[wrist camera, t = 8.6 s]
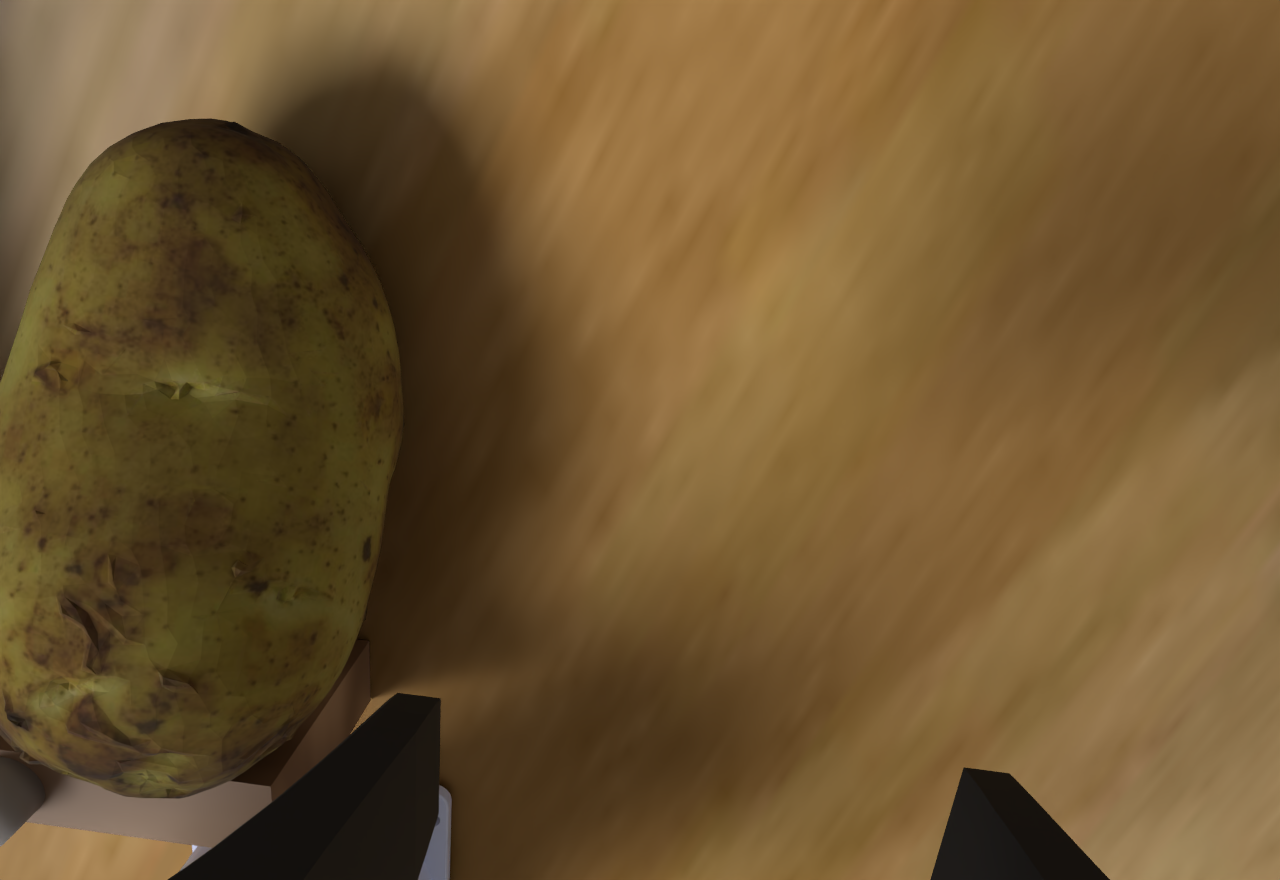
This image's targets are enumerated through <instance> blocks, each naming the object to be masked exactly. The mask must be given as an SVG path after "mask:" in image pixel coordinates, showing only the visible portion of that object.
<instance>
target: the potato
mask: <svg viewBox="0 0 1280 880" xmlns="http://www.w3.org/2000/svg"><path fill="white" fill-rule="evenodd" d="M403 428H404V409H403V394H402V380H401V367H400V357H399V350H398V345H397V341H396V333H395V327H394V324H393V320H392V316H391V312H390V309H389V306H388V303H387V300H386V297H385V294H384V292H383V289H382V286H381V284H380V282H379V279H378V277H377V275H376V272H375V270H374V267H373V266H372V264H371V262H370V260H369V258H368V257H367V255H366V253H365V251H364V250H363V248H362V246H361V244H360V243H359V241H358V240H357V238H356V237H355V235H354V234H353V232H352V231H351V229H350V228H349V226H348V224H347V223H346V221H345V220H344V218H343V216H342V215H341V213H340V212H339V210H338V208H337V207H336V205H335V203H334V202H333V200H332V198H331V197H330V195H329V194H328V193H327V191H326V190H325V188H324V187H323V186H322V184H321V183H320V181H319V180H318V179H317V177H316V176H315V175H314V174H313V173H312V171H311V170H310V169H309V168H308V166H307V165H306V164H305V163H304V162H303V161H302V160H301V159H299V158H298V157H297V156H296V155H295V154H293V153H292V152H291V151H290V150H288V149H287V148H285V147H284V146H282V145H281V144H279V143H278V142H276V141H274V140H271V139H269V138H266V137H264V136H262V135H259V134H257V133H255V132H252V131H250V130H248V129H247V128H245V127H243V126H241V125H240V124H238V123H236V122H228V121H224V120H217V119H188V120H180V121H173V122H166V123H160V124H158V125H155V126H152V127H149V128H146V129H143V130H140V131H138V132H135V133H133V134H131V135H129V136H127V137H126V138H124V139H122V140H120V141H119V142H117V143H115V144H113V145H112V146H110V147H108V148H107V149H106V150H105V151H104V152H103V153H102V154H101V155H100V156H98V157H97V158H96V159H95V160H94V161H93V162H92V163H91V164H90V165H89V167H88V168H87V169H86V171H85V172H84V173H83V175H82V176H81V178H80V179H79V180H78V182H77V183H76V185H75V186H74V188H73V190H72V191H71V193H70V195H69V197H68V198H67V200H66V203H65V205H64V207H63V209H62V212H61V214H60V216H59V219H58V221H57V223H56V225H55V228H54V230H53V233H52V235H51V238H50V241H49V243H48V246H47V248H46V251H45V254H44V256H43V259H42V261H41V264H40V266H39V269H38V271H37V274H36V277H35V279H34V282H33V284H32V287H31V289H30V292H29V296H28V299H27V302H26V306H25V309H24V312H23V316H22V319H21V322H20V325H19V328H18V331H17V334H16V337H15V340H14V343H13V346H12V349H11V352H10V355H9V358H8V361H7V364H6V367H5V370H4V373H3V376H2V379H1V381H0V735H1V737H2V738H3V739H4V740H5V741H6V742H7V743H8V744H9V745H10V746H11V747H12V748H13V749H14V750H15V751H16V752H22V753H21V755H20V757H19V758H20V759H22V760H23V761H25V762H26V763H28V764H43V765H45V766H47V767H48V768H50V769H52V770H54V771H56V772H58V773H60V774H63V775H67V776H70V777H73V778H76V779H79V780H83V781H86V782H89V783H92V784H95V785H97V786H100V787H102V788H103V789H105V790H108V791H111V792H113V793H116V794H119V795H122V796H125V797H135V798H175V799H180V798H185V797H189V796H192V795H195V794H198V793H201V792H204V791H206V790H209V789H212V788H215V787H217V786H219V785H222V784H224V783H226V782H228V781H231V780H233V779H234V778H236V777H237V776H239V775H240V774H242V773H243V772H245V771H247V770H248V769H249V768H250V767H252V766H253V765H254V764H256V763H257V762H258V761H260V760H261V759H263V758H264V757H265V756H267V755H268V754H270V753H271V752H273V751H274V750H276V749H277V748H278V747H279V746H281V745H282V744H283V743H284V742H285V741H287V740H291V739H292V738H293V736H294V734H295V732H296V731H297V729H298V727H299V726H300V725H301V724H302V723H303V722H304V721H305V720H306V719H307V718H308V717H309V716H310V715H311V714H312V713H313V712H314V710H315V709H316V708H317V707H318V705H319V704H320V703H321V702H322V700H323V699H324V698H325V696H326V695H327V694H328V693H329V691H330V690H331V688H332V686H333V685H334V683H335V681H336V680H337V679H338V677H339V676H340V674H341V672H342V670H343V668H344V666H345V664H346V662H347V660H348V658H349V656H350V653H351V651H352V649H353V646H354V644H355V641H356V639H357V636H358V633H359V631H360V628H361V626H362V623H363V621H364V620H366V612H367V604H368V600H369V596H370V592H371V588H372V584H373V580H374V576H375V572H376V568H377V563H378V559H379V555H380V551H381V545H382V538H383V531H384V522H385V513H386V505H387V497H388V489H389V484H390V481H391V478H392V475H393V473H394V470H395V467H396V463H397V459H398V456H399V452H400V448H401V442H402V436H403Z"/></svg>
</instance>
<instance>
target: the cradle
mask: <svg viewBox="0 0 1280 880" xmlns="http://www.w3.org/2000/svg"><path fill="white" fill-rule="evenodd" d="M370 700H371V699H370V647H369V641H366V640H358V639H356V641H355V644H354V646H353V649H352V651H351V653H350V656H349V658H348V660H347V662H346V664H345V666H344V668H343V670H342V672H341V674H340V676H339V677H338V679H337V680H336V681H335V683H334V685H333V686H332V688H331V690H330V691H329V693H328V694H327V695H326V696H325V698H324V699H323V700H322V702H321V703H320V704H319V705H318V707H317V708H316V709H315V710H314V712H313V713H312V714H311V715H310V716H309V717H308V718H307V719H306V720H305V721H304V722H303V723H302V724H301V725H300V726H299V727H298V729H297V731H296V732H295V734H294V736H293V738H292V739H291V740H287V741H285V742H284V743H283V744H282V745H281V746H279V747H278V748H277V749H276V750H274V751H273V752H271V753H270V754H268V755H267V756H265V757H264V758H263V759H261V760H260V761H258V762H257V763H256V764H254V765H253V766H252V767H250V768H249V769H248V770H247V771H245V772H243V773H242V774H240V775H239V776H237V777H236V778H234V779H233V780H231V781H228V782H226V783H224V784H222V785H219V786H217V787H215V788H212V789H209V790H206V791H204V792H201V793H198V794H195V795H192V796H189V797H185V798H180V799H175V798H135V797H125V796H122V795H119V794H116V793H113V792H111V791H108V790H105V789H103V788H102V787H100V786H97V785H95V784H92V783H89V782H86V781H83V780H79V779H76V778H73V777H70V776H67V775H63V774H60V773H58V772H56V771H54V770H52V769H50V768H48V767H47V766H45V765H43V764H28V763H26V762H25V761H23V760H22V759H20V758H19V757H20V755H21V753H22V752H16V751H15V750H14V749H13V748H12V747H11V746H10V745H9V744H8V743H7V742H6V741H5V740H4V739H3V738H2V737H1V735H0V846H2V845H3V844H4V843H5V842H6V841H7V840H8V839H9V838H10V837H11V836H12V835H13V834H14V833H15V832H16V831H17V830H18V829H19V828H20V827H21V826H22V825H23V824H24V823H25V822H30V823H37V824H45V825H52V826H59V827H66V828H73V829H80V830H88V831H95V832H102V833H109V834H116V835H123V836H130V837H138V838H145V839H152V840H159V841H166V842H173V843H180V844H188V845H195V846H202V847H209V848H213V847H214V846H216V845H217V844H218V843H220V842H221V841H222V840H223V839H225V838H226V837H227V836H229V835H230V834H231V833H233V832H234V831H235V830H236V829H238V828H239V827H240V826H242V825H243V824H244V823H245V822H247V821H248V820H249V819H251V818H252V817H253V816H255V815H256V814H257V813H258V812H260V811H261V810H262V809H264V808H265V807H266V806H267V805H269V804H270V803H271V802H272V801H274V800H275V799H276V798H277V797H279V796H280V795H281V794H282V793H283V792H285V791H286V790H287V789H288V788H289V787H290V786H292V785H293V784H294V783H295V782H296V781H298V780H299V779H300V778H301V777H302V776H303V775H305V774H306V773H307V772H308V771H309V770H310V769H312V768H313V767H314V766H315V765H316V764H318V763H319V762H320V761H321V760H322V759H323V758H325V757H326V756H327V755H328V754H329V753H330V752H331V751H332V750H334V749H335V748H336V747H337V746H338V745H339V744H340V743H341V742H343V741H344V740H345V739H346V738H347V737H348V736H349V735H350V733H351V732H352V730H353V728H354V727H355V725H356V723H357V722H358V720H359V718H360V717H361V715H362V713H363V712H364V710H365V708H366V707H367V705H368V703H369V702H370Z"/></svg>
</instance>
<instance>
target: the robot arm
mask: <svg viewBox="0 0 1280 880" xmlns="http://www.w3.org/2000/svg"><path fill="white" fill-rule="evenodd" d="M440 706H441V699H440V698H432V697H425V696H417V695H409V694H402V693H397V694H396V695H394V696H393V697H391V698H390V699H389V700H388V701H387V702H386V703H384V704H383V705H382V706H381V707H380V708H379V709H378V710H377V711H376V712H375V713H373V714H372V715H371V716H370V717H369V718H368V719H367V720H366V721H365V722H364V723H363V724H361V725H360V726H359V727H358V728H357V729H356V730H355V731H354V732H353V733H352V734H350V735H349V736H348V737H347V738H346V739H345V740H344V741H343V742H341V743H340V744H339V745H338V746H337V747H336V748H335V749H334V750H332V751H331V752H330V753H329V754H328V755H327V756H326V757H325V758H323V759H322V760H321V761H320V762H319V763H318V764H316V765H315V766H314V767H313V768H312V769H310V770H309V771H308V772H307V773H306V774H305V775H303V776H302V777H301V778H300V779H299V780H298V781H296V782H295V783H294V784H293V785H292V786H290V787H289V788H288V789H287V790H286V791H285V792H283V793H282V794H281V795H280V796H279V797H277V798H276V799H275V800H274V801H272V802H271V803H270V804H269V805H267V806H266V807H265V808H264V809H262V810H261V811H260V812H258V813H257V814H256V815H255V816H253V817H252V818H251V819H249V820H248V821H247V822H245V823H244V824H243V825H242V826H240V827H239V828H238V829H236V830H235V831H234V832H233V833H231V834H230V835H229V836H227V837H226V838H225V839H223V840H222V841H221V842H220V843H218V844H217V845H216V846H214V847H213V848H209V847H202V846H195V845H192V851H193V853H192V855H191V856H190V857H189V859H188V860H187V861H186V863H185V864H184V866H183V867H182V868H181V870H180V871H179V872H178V873H177V874H175V875H174V876H172V877H171V878H169V879H168V880H450V847H451V805H452V799H451V795H450V793H449V792H448V790H447V789H445V788H444V787H442V786H440V785H439V766H440ZM931 880H1110V879H1109V878H1108V877H1107V876H1106V875H1105V874H1104V873H1103V872H1102V871H1101V870H1100V869H1099V868H1098V867H1097V866H1096V865H1095V864H1094V863H1093V861H1092V860H1091V859H1090V858H1089V857H1088V856H1087V855H1086V854H1085V853H1084V852H1083V851H1082V850H1081V849H1080V848H1079V846H1078V845H1077V844H1076V843H1075V842H1074V841H1073V840H1072V839H1071V838H1070V837H1069V836H1068V835H1067V834H1066V833H1065V832H1064V830H1063V829H1062V828H1061V827H1060V826H1059V825H1058V824H1057V823H1056V822H1055V821H1054V820H1053V819H1052V818H1051V816H1050V815H1049V814H1048V813H1047V812H1046V811H1045V810H1044V809H1043V808H1042V807H1041V806H1040V805H1039V804H1038V803H1037V801H1036V800H1035V799H1034V798H1033V797H1032V796H1031V795H1030V794H1029V793H1028V792H1027V791H1026V790H1025V789H1024V788H1023V787H1022V786H1021V785H1020V784H1019V783H1018V782H1017V781H1016V780H1015V779H1014V778H1013V777H1012V776H1011V775H1010V774H1009V773H1002V772H994V771H987V770H979V769H971V768H964V769H963V772H962V775H961V779H960V782H959V785H958V789H957V792H956V795H955V799H954V802H953V806H952V809H951V812H950V816H949V819H948V822H947V826H946V829H945V833H944V836H943V839H942V843H941V846H940V849H939V853H938V856H937V860H936V863H935V866H934V870H933V873H932V876H931Z"/></svg>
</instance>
